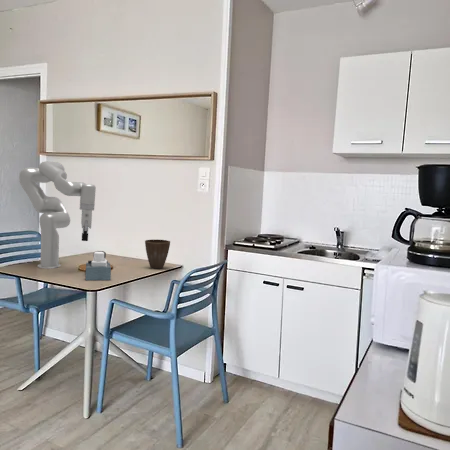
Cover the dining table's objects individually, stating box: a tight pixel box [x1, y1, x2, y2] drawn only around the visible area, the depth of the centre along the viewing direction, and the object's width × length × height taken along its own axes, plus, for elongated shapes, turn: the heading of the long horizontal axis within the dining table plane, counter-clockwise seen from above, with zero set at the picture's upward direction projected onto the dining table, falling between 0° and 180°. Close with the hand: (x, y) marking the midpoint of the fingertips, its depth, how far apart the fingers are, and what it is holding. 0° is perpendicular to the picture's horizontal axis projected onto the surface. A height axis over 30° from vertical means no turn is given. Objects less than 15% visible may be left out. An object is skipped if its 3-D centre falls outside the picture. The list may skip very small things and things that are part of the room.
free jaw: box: [85, 260, 111, 267], centre depth 224 cm, size 3×12×6 cm, turn 108°
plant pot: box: [144, 239, 171, 270], centre depth 253 cm, size 15×15×16 cm
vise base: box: [85, 265, 112, 281], centre depth 225 cm, size 25×12×6 cm, turn 18°
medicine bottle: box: [91, 250, 108, 266], centre depth 219 cm, size 7×7×12 cm
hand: (84, 240), depth 230 cm, fingers closed
